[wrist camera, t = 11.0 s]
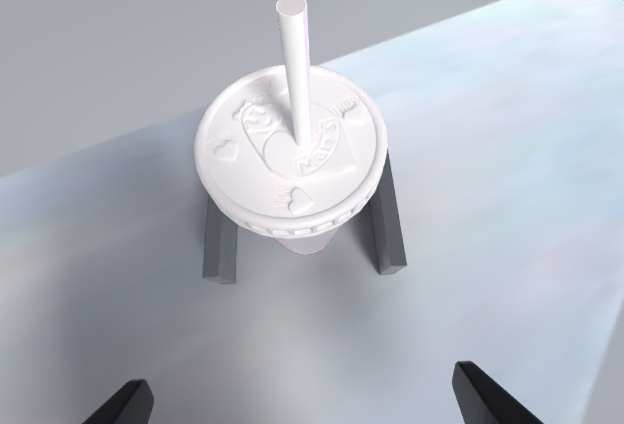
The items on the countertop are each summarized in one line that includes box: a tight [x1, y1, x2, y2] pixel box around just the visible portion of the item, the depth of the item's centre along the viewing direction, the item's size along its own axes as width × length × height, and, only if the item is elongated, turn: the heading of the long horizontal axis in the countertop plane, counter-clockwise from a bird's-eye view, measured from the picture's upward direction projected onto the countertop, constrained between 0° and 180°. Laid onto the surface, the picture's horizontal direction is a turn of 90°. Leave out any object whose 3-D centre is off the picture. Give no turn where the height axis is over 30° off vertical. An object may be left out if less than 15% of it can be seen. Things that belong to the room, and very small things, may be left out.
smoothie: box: [194, 0, 387, 254], centre depth 12 cm, size 6×6×14 cm
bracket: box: [202, 148, 407, 284], centre depth 17 cm, size 9×10×4 cm
